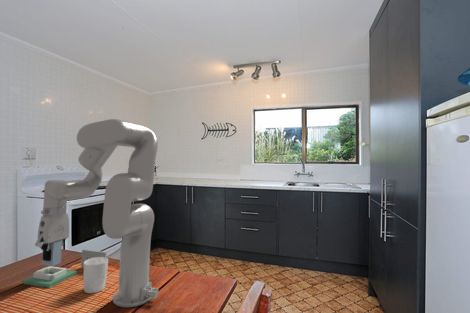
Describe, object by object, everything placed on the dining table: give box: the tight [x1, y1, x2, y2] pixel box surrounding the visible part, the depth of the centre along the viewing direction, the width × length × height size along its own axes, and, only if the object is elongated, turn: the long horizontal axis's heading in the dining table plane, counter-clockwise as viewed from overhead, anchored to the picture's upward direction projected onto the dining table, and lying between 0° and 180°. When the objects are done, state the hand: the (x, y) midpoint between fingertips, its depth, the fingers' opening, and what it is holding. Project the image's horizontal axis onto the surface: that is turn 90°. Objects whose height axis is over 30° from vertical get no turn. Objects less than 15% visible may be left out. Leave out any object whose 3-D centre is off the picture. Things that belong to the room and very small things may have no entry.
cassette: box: [80, 248, 108, 267], centre depth 108 cm, size 12×2×8 cm, turn 76°
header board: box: [22, 266, 78, 288], centre depth 98 cm, size 12×12×3 cm
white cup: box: [83, 257, 109, 294], centre depth 91 cm, size 8×8×10 cm
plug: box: [41, 240, 63, 267], centre depth 98 cm, size 6×4×9 cm, turn 78°
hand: (51, 258), depth 98 cm, fingers closed on plug, 3 cm apart
